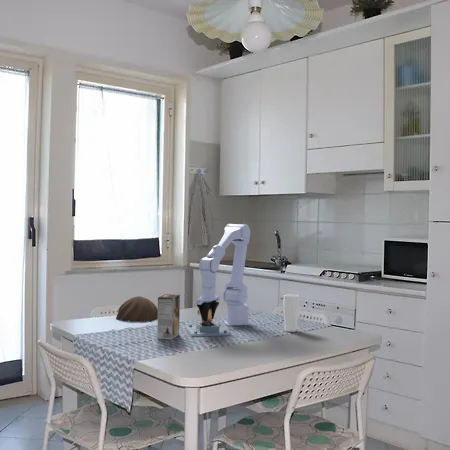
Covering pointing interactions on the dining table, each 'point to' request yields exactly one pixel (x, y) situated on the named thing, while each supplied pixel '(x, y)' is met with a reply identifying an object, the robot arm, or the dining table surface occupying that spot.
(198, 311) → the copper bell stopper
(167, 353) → the dining table surface
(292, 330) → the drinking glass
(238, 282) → the robot arm
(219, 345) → the dining table surface
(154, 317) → the decorative dome
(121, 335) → the dining table surface
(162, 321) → the coffee box
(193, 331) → the flange plate
